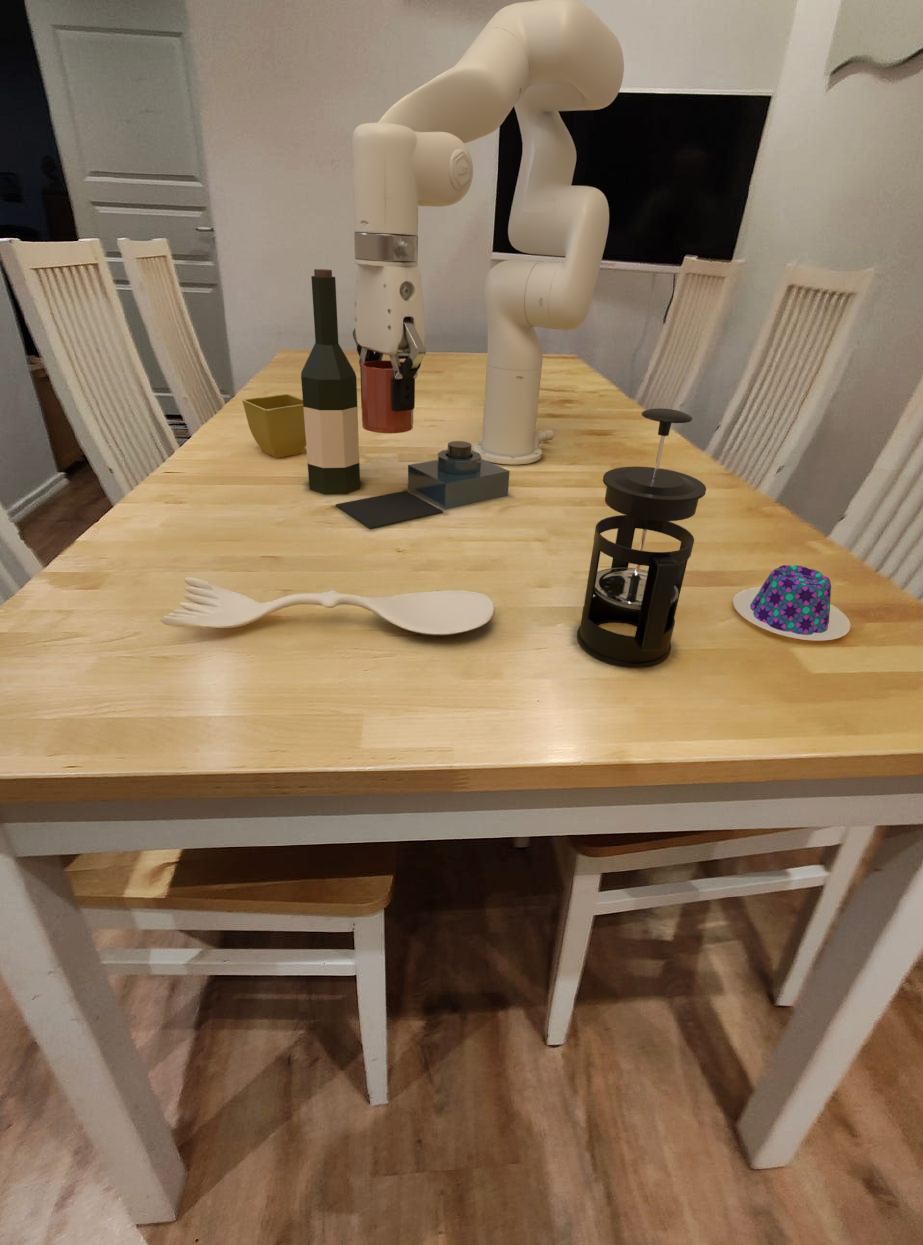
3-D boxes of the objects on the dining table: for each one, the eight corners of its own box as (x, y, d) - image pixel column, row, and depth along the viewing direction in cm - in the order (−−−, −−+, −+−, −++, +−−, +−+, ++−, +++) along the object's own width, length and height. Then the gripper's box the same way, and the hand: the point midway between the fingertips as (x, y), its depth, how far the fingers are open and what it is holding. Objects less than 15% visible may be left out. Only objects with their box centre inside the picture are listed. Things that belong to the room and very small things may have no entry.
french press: (564, 617, 73) (595, 396, 61) (648, 615, 74) (694, 398, 62) (596, 680, 63) (640, 430, 51) (692, 677, 64) (757, 431, 52)
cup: (395, 418, 96) (395, 358, 92) (422, 430, 91) (423, 367, 87) (353, 424, 92) (351, 361, 88) (378, 436, 87) (377, 370, 83)
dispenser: (469, 478, 112) (471, 441, 109) (507, 496, 105) (510, 458, 102) (407, 490, 105) (407, 451, 102) (444, 510, 99) (446, 469, 96)
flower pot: (271, 463, 114) (265, 409, 109) (247, 451, 119) (241, 398, 115) (316, 455, 119) (313, 403, 114) (292, 443, 124) (287, 393, 120)
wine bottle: (351, 497, 101) (341, 273, 86) (298, 492, 103) (280, 269, 87) (368, 480, 108) (362, 270, 93) (319, 475, 110) (305, 266, 95)
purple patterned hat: (864, 653, 69) (882, 608, 66) (741, 638, 70) (754, 593, 68) (829, 599, 79) (844, 558, 76) (723, 587, 81) (734, 546, 78)
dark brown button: (461, 452, 105) (462, 439, 104) (475, 459, 102) (476, 445, 101) (442, 456, 103) (443, 442, 102) (456, 462, 100) (457, 448, 99)
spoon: (190, 601, 72) (185, 572, 70) (488, 604, 74) (490, 575, 73) (163, 647, 64) (156, 615, 62) (497, 648, 67) (500, 617, 65)
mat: (405, 492, 104) (405, 490, 104) (443, 513, 97) (443, 510, 97) (335, 506, 98) (335, 504, 98) (370, 529, 91) (370, 527, 91)
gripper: (454, 256, 77) (448, 415, 86) (376, 249, 89) (378, 389, 98) (398, 254, 73) (398, 421, 82) (324, 247, 85) (331, 394, 94)
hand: (387, 403), depth 90 cm, fingers closed on cup, 6 cm apart
